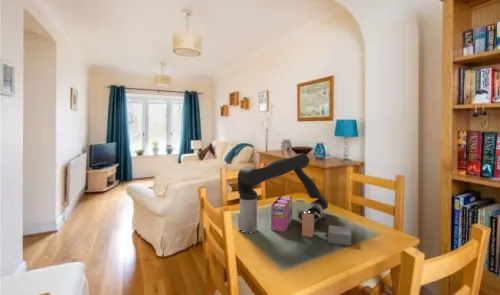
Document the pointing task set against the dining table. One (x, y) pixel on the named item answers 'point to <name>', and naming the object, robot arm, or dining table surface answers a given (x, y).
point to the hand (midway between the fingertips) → (309, 220)
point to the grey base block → (339, 235)
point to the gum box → (281, 213)
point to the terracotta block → (308, 225)
